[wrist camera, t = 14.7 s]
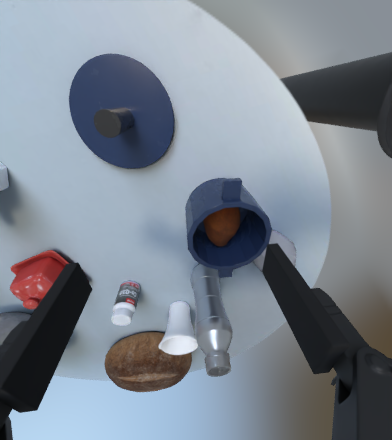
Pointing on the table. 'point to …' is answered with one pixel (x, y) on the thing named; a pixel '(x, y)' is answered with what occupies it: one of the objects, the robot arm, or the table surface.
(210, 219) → the potato
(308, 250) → the table surface
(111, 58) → the lid
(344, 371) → the robot arm
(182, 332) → the cup
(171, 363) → the bread
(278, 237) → the potion bottle
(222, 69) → the table surface
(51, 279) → the butter dish
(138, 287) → the pill bottle
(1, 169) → the mug
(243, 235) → the pot
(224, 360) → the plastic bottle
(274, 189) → the table surface
